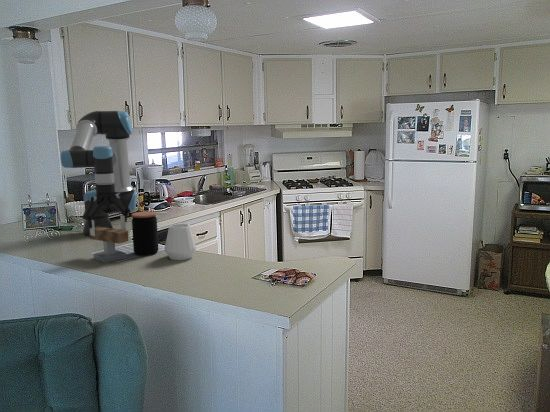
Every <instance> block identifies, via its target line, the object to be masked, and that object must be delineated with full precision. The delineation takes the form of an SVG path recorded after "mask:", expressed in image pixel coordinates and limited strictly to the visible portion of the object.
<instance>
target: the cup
mask: <svg viewBox="0 0 550 412" xmlns="http://www.w3.org/2000/svg"><path fill="white" fill-rule="evenodd" d="M196 251H197V245H196V242H195V239H194V235H193V231H192V228H191V225H190V224H188V223H174V224H171V225H169V226H168V231H167V236H166V239H165V244H164V252H165V253H166V254H167V256H168V258H169V259H170V260H173V261H184V260H189V259H191V258H193V255H194V254H195V252H196Z"/></svg>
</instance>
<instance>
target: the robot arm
mask: <svg viewBox="0 0 550 412" xmlns="http://www.w3.org/2000/svg"><path fill="white" fill-rule="evenodd" d="M76 123H77V124H76V127H75V130H76V132H75V135H74V138H73V140H72V142H71V145H70V148H69V149H66V150H62V151H61V153H60V163H61V166H62V167H63V168H66V169H79V168H80V169H83V168H94V182H95V189H94V190H93V189H92V190H89V191H87V192H85V193H84V196H83V199H84V200H83V202H84V204H83V205H84V212H83V214H82V217H81V218H82V220H85V222H84V225H83V228H82V233H83V235H84V236H88V237H90V234H91V235H92V236H95V227H105V228H112V229H114V228H113V224H112V222H111V219H110V214H120V215H119V217H120V219H119V221H120V230H126V231H127V229H126V223H127V222H128V218H127V216H128V215H129V214H131V213H133V212H134V213H135V211H136V208H137V207H136V206H137V198H138V196H137V195H138V192H137V190H134V186H133V185H132V184H131V176H130V166H129V152H128V150H129V149H128V140H129V139H130V135H132V134H133V128H132V127H133V125H132V121H131V118H130V114H129V113H128V112H127V111H123V110H94V111H91V112H88V113H86V114H85V115H83V116H82V117H81V118H80V119H79V120H78V121H77V122H76ZM96 135H97V136H98V135H104V136H105V139H106V140H107V141H108V142H109V145H108V146H107V145H101V146H94V147H93V148H92V149H90V147H91V144H92V141H93V139H94V137H95V136H96ZM89 229H90V233H89Z"/></svg>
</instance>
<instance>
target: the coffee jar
mask: <svg viewBox="0 0 550 412" xmlns="http://www.w3.org/2000/svg"><path fill="white" fill-rule="evenodd" d="M131 217H132V219H131V229H132V230H131V231H132V243H133V244H132V245H133V246H132V247H133V248H132V249H133V253H134V254H135V256H139V257H145V256H146V257H148V256H152V255H153V256H154V255H156V254H157V253H158V251H159V239H158V238H159V237H158V235H159V234H158V218H157V212H156V211H137V212H134V213H133V212H132V213H131Z"/></svg>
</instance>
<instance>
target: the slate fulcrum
mask: <svg viewBox="0 0 550 412" xmlns="http://www.w3.org/2000/svg"><path fill="white" fill-rule="evenodd" d="M102 242H103V251H100V252H99V251H98V252H95V253H93V259H95V260H97V261H100V262H101V263H104V264H105V263H109V262H114V261H118V260H122V259H127V253H126V252H124V251H121V250H119V249H116V243H112V242H106V241H102Z"/></svg>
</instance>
